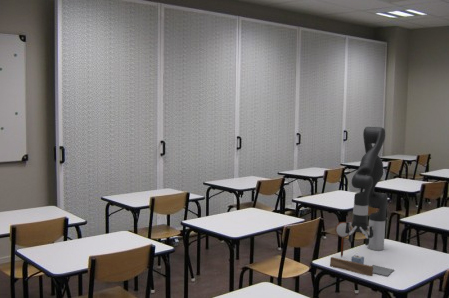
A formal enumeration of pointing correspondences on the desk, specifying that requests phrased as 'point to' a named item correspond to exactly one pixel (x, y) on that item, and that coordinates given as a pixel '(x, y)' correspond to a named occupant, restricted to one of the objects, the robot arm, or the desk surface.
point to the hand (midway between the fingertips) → (358, 243)
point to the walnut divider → (351, 266)
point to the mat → (382, 270)
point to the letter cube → (357, 259)
